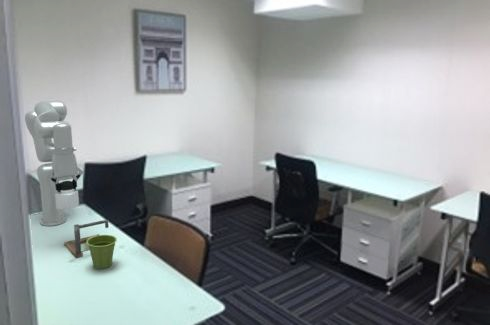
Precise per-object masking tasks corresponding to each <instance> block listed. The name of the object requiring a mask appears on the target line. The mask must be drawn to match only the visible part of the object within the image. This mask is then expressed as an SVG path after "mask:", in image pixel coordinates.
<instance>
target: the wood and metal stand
mask: <svg viewBox="0 0 490 325" xmlns="http://www.w3.org/2000/svg"><path fill="white" fill-rule="evenodd" d="M103 224H104V226H105V227H104V228H106V229H108V228H109V220H107V219H103V220H99V221H98V220H97V221H93V222H90V223H89V222H88V223H84V224H74V225H73V231H74V233H73V234H74V239H72V240H69V241H64V243H63V244H64V247H65V248H66V249H67V250H68V251H69V252H70V253H71V255H72V256H73V257H74V258H75V259H77V258H81V257H83V256H84V252H87V251H90V249H89V246H88V244H87V243H86V242H87V240H88V239H89V238H91V237H94V236H98V235H100V234H99V233H98V234H94V235H90V236H85V237H82V238H81V230H80V229H83V228H88V227H93V226H98V225H103Z"/></svg>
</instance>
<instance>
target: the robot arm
mask: <svg viewBox="0 0 490 325" xmlns="http://www.w3.org/2000/svg"><path fill="white" fill-rule="evenodd" d="M67 115H68V109H67V106H66V104H65V103H64V102H63V101H61V100H45V101H44V100H42V101H38V102H37V103H36V104H35V106H34V108H33V110H30V111H27V112H26V113H25V115H24V122H25V125H26V128H27V131H28V132H29V134H30V136H31V137H32V140H33V144H34V149H35V153H36V154H35V155H36V158H37V160H38V161H39V162H40V163H44V164H41V165H39V166H38V167H37V169H36V174H37V179H38V182H39V187H40V188H39V189H40V199H41V209H42V218H41V219H40V221H39V224H40V225H41V226H46V227H51V226H52V227H53V226H54V227H55V226H58V225H61V224H64V223H66V222H67V217H66V216H64V214H63V213H64V212H63V210H64V209H57V208H56V197H55V194H56V193H58V192H61V191H60V181H61V182H62V181H69V180H71V181H72V182H73V185H74V190H77V187H78V182H77V181H78V180H79V179H80V178H81V176H82V175H83V174H84V171H83V170H82V169H81V168H80V167H78V162H77V157H76V154H75V153H74V152H76V151H77V148H76V147H74V146H73V134H72V125H71V124H70V123H69V122H68V121H65V119H66V117H67ZM52 139H53V140H52Z"/></svg>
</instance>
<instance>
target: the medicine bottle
mask: <svg viewBox="0 0 490 325" xmlns="http://www.w3.org/2000/svg"><path fill="white" fill-rule="evenodd" d="M59 183H60V191H61V192H58V193H56V194H55V197H56V208H57V209H62V210H68V211H70V210H73V209H74V208H76V207H78V206H79V205H80V199H79V198H80V197H79V190H77V189H76V190H74V185H73V182H72V180H61V182H60V181H59Z"/></svg>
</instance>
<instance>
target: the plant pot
mask: <svg viewBox="0 0 490 325" xmlns="http://www.w3.org/2000/svg"><path fill="white" fill-rule="evenodd" d="M97 235H98V234H97ZM117 240H118V239H117V237H116V236H114V235H112V234H99V235H98V236H94V237H91V238H89V239H88V240H87V242H86V243H87V244H88V246H89V249H90V250H89V252H90V256H91V260H92V265H93V268H95V269H99V270H100V269H107V268H109V267H111V266H112V264H113V258H114V249H115V246H116V242H117Z"/></svg>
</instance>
